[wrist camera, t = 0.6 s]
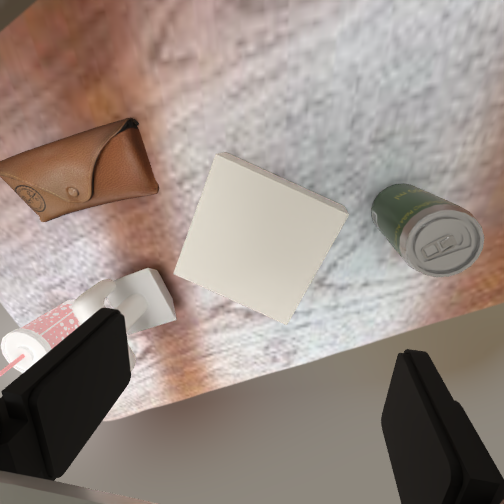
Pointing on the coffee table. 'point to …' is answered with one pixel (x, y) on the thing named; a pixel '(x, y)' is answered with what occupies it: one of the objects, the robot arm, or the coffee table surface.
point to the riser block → (258, 237)
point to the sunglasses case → (82, 170)
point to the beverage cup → (38, 337)
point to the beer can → (428, 230)
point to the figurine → (130, 302)
